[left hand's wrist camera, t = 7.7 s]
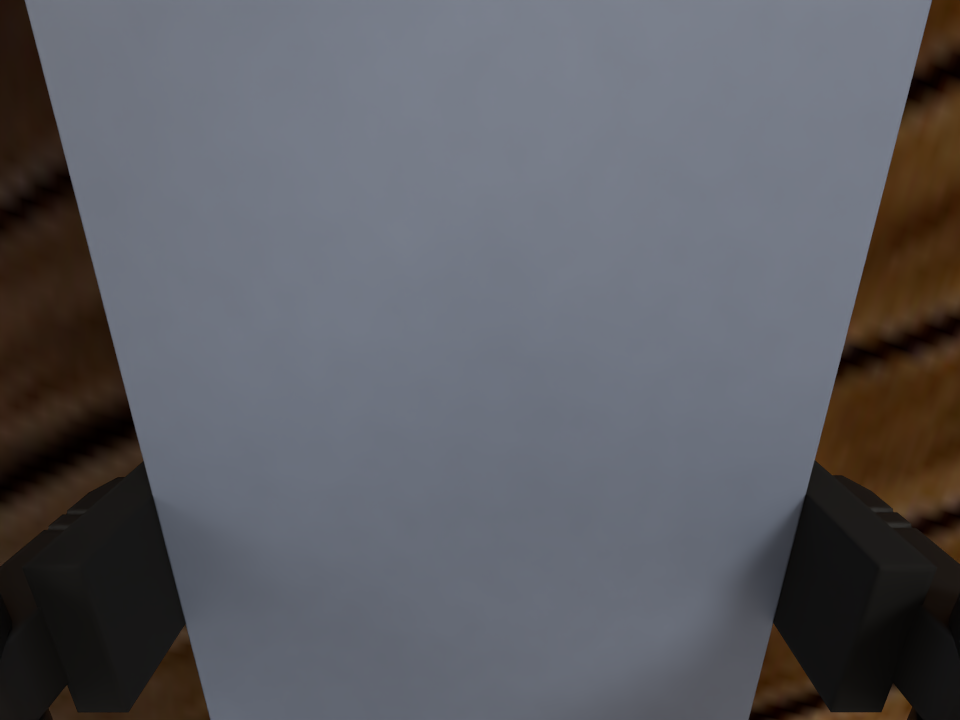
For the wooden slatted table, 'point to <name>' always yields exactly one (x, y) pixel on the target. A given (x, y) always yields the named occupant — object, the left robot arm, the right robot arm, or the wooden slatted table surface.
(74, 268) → the wooden slatted table surface
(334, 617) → the cabinet
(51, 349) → the wooden slatted table surface
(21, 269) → the wooden slatted table surface
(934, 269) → the wooden slatted table surface
